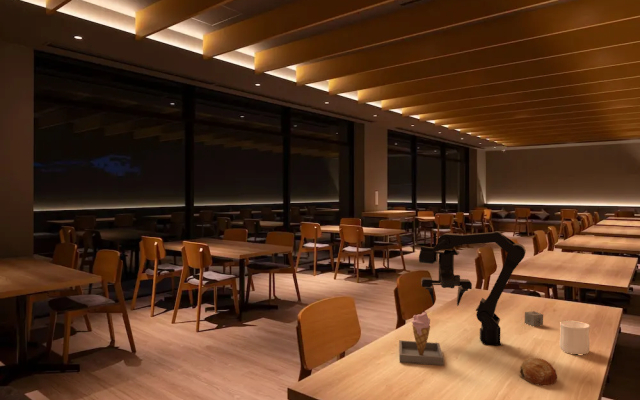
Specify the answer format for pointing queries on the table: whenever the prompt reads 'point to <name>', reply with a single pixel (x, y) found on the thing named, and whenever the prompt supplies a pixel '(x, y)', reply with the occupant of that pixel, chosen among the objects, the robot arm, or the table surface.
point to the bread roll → (538, 371)
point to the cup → (574, 337)
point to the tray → (411, 355)
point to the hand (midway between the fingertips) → (445, 304)
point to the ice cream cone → (421, 331)
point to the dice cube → (533, 318)
